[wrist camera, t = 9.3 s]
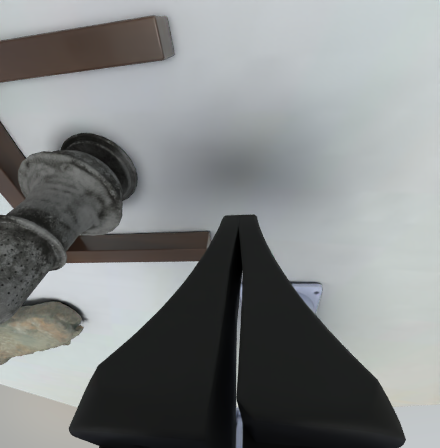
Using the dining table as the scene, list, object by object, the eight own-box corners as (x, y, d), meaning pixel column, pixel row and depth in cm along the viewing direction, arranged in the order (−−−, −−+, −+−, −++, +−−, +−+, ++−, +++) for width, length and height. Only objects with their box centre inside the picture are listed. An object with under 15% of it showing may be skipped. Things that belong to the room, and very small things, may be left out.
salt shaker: (122, 124, 14) (-89, 300, 5) (152, 202, 18) (57, 384, 9) (37, 132, 15) (-272, 298, 6) (82, 206, 19) (-67, 376, 10)
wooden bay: (211, 243, 21) (209, 261, 19) (72, 247, 22) (59, 263, 21) (167, 16, 11) (154, 14, 9) (-72, 54, 13) (-114, 59, 11)
